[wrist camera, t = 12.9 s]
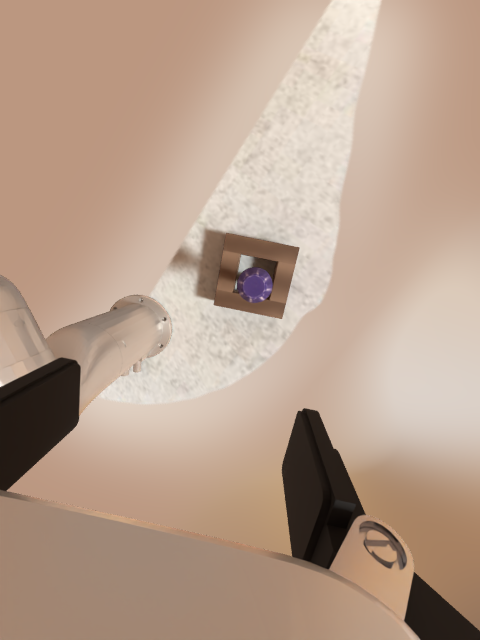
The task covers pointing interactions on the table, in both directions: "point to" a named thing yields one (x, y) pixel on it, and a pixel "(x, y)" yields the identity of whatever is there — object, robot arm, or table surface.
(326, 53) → the table surface
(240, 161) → the table surface
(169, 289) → the table surface
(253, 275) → the toy lamp
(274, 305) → the socket block
